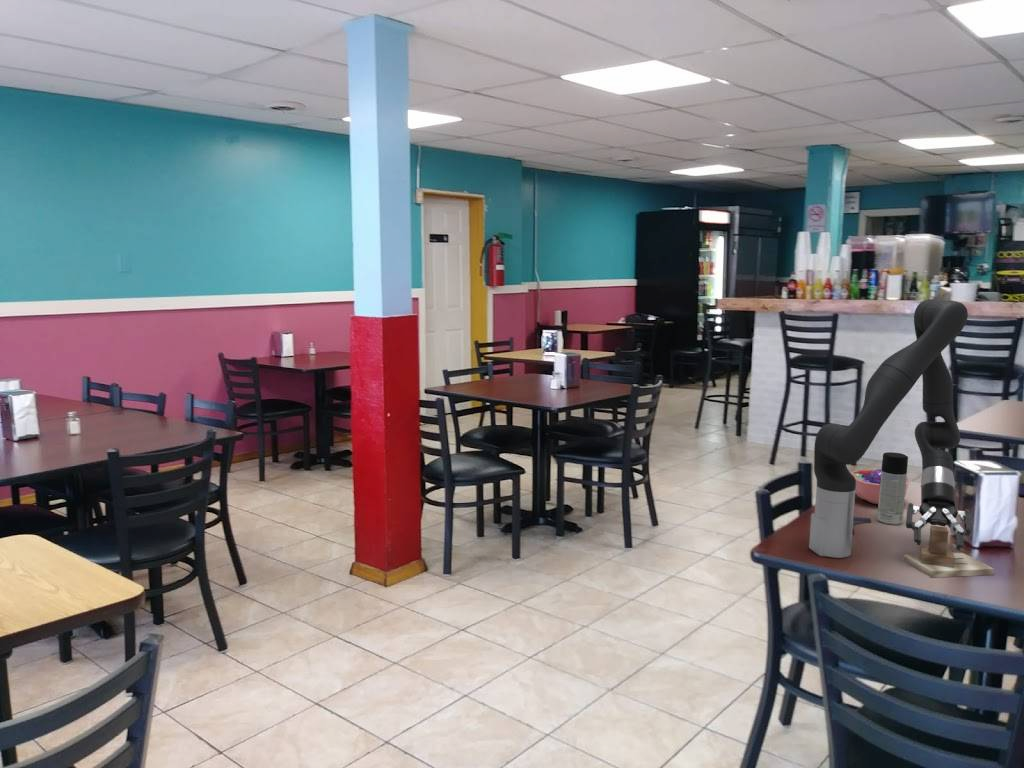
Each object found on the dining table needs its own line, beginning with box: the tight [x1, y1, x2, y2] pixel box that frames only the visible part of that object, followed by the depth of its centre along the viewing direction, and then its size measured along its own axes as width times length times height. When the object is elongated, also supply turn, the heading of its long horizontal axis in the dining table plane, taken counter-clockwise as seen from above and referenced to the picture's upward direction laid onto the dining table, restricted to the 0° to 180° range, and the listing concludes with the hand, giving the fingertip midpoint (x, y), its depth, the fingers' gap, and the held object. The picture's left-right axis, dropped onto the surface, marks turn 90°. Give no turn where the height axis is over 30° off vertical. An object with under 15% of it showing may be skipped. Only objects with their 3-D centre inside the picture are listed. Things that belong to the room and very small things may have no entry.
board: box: [902, 552, 995, 578], centre depth 192 cm, size 16×11×2 cm
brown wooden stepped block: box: [919, 525, 955, 568], centre depth 191 cm, size 7×5×8 cm
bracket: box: [852, 516, 872, 536], centre depth 223 cm, size 14×15×3 cm
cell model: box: [850, 468, 911, 505], centre depth 246 cm, size 17×20×11 cm
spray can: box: [877, 451, 909, 526], centre depth 226 cm, size 7×7×20 cm
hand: (938, 546), depth 190 cm, fingers open, 8 cm apart
